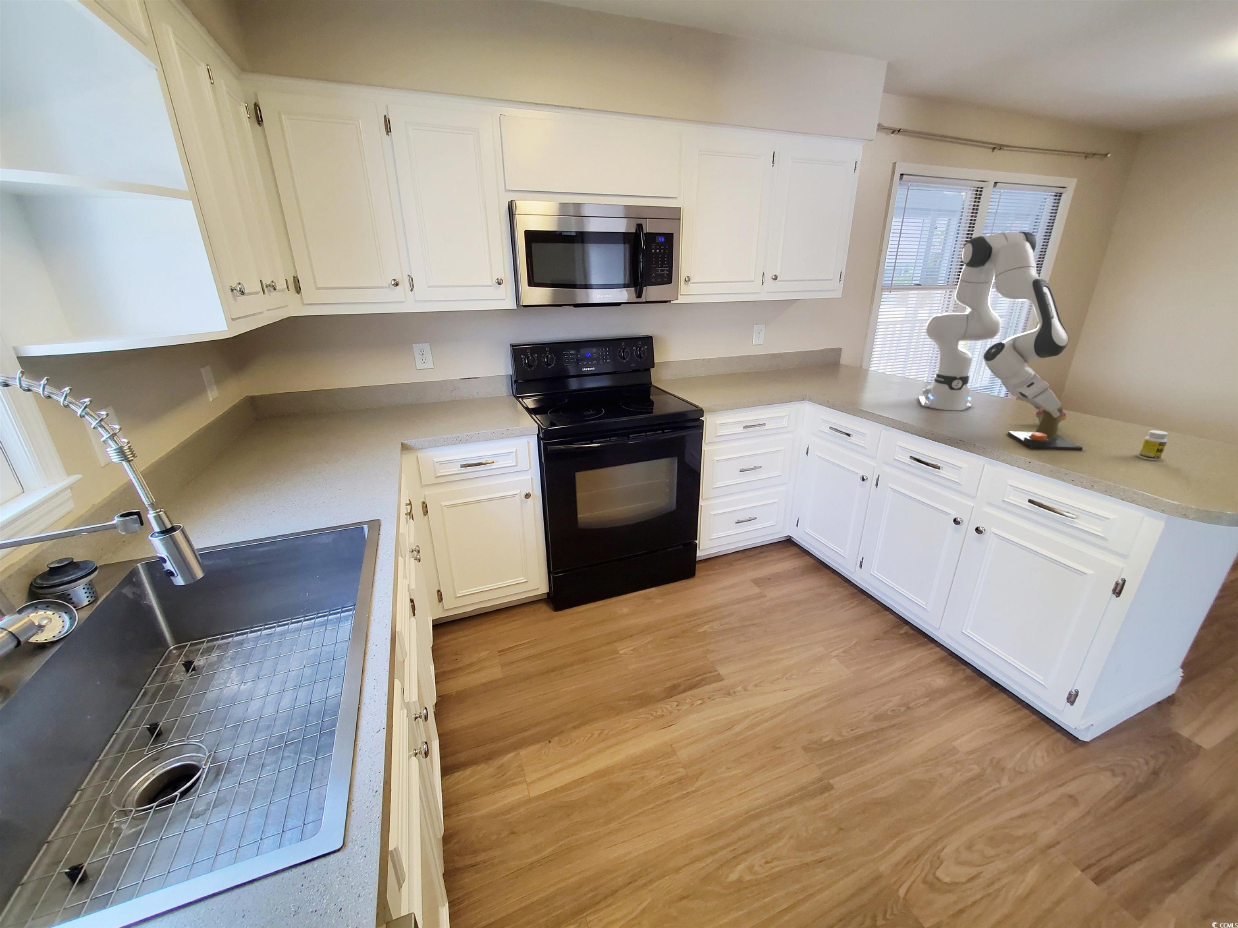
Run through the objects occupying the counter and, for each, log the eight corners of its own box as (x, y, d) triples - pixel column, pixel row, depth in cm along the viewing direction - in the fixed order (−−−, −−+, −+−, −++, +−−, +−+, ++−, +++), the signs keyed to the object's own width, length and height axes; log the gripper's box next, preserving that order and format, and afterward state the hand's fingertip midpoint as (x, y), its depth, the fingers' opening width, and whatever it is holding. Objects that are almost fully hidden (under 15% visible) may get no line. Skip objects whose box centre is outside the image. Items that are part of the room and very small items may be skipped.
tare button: (1027, 437, 166) (1028, 432, 165) (1041, 437, 165) (1042, 432, 165) (1034, 440, 162) (1035, 435, 162) (1048, 441, 162) (1049, 436, 161)
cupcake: (1031, 427, 183) (1040, 396, 179) (1034, 422, 189) (1042, 391, 185) (1061, 431, 178) (1071, 399, 173) (1063, 426, 183) (1072, 394, 179)
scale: (1004, 434, 177) (1006, 426, 176) (1052, 435, 174) (1054, 427, 173) (1029, 449, 162) (1031, 441, 161) (1082, 451, 159) (1085, 442, 158)
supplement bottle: (1155, 461, 149) (1165, 435, 146) (1134, 457, 153) (1144, 431, 150) (1163, 459, 151) (1173, 432, 148) (1143, 454, 155) (1152, 428, 152)
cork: (1060, 439, 167) (1070, 408, 163) (1040, 439, 168) (1049, 407, 164) (1049, 434, 172) (1058, 403, 168) (1030, 433, 174) (1038, 403, 170)
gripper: (998, 383, 177) (1022, 410, 178) (1030, 397, 158) (1056, 426, 160) (1015, 370, 174) (1040, 398, 176) (1049, 383, 155) (1076, 413, 157)
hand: (1048, 412), depth 167 cm, fingers open, 8 cm apart
